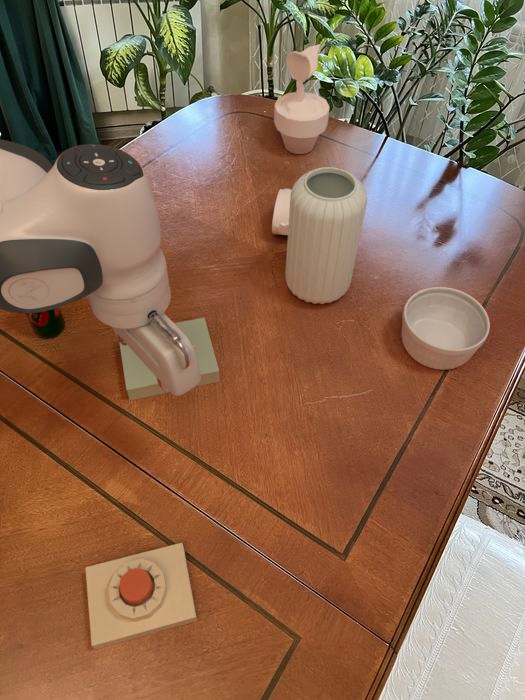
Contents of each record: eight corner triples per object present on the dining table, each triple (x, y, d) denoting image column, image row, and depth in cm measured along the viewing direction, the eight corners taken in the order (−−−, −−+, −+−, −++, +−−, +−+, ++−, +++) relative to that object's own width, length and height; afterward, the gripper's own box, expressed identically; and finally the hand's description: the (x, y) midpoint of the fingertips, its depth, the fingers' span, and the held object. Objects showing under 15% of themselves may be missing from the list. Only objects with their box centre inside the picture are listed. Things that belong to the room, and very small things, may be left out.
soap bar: (320, 251, 107) (324, 218, 101) (271, 244, 108) (272, 210, 102) (328, 211, 114) (333, 177, 108) (282, 204, 115) (284, 170, 109)
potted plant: (308, 169, 123) (319, 50, 103) (263, 151, 126) (265, 32, 106) (336, 141, 129) (352, 23, 109) (292, 124, 133) (300, 8, 113)
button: (123, 608, 66) (121, 604, 64) (120, 576, 68) (117, 572, 66) (155, 599, 66) (152, 595, 65) (150, 568, 68) (148, 564, 67)
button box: (95, 649, 66) (87, 643, 63) (89, 572, 72) (81, 562, 68) (197, 621, 68) (194, 613, 65) (184, 547, 74) (181, 537, 70)
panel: (129, 400, 87) (126, 389, 84) (121, 345, 93) (117, 333, 91) (219, 381, 89) (219, 370, 87) (205, 328, 96) (204, 316, 93)
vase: (339, 319, 97) (358, 215, 80) (275, 301, 100) (280, 196, 82) (356, 274, 104) (377, 169, 86) (296, 258, 106) (305, 152, 88)
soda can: (70, 331, 95) (50, 280, 85) (41, 344, 93) (17, 294, 83) (58, 312, 97) (37, 260, 88) (30, 324, 95) (5, 273, 86)
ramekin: (386, 361, 92) (395, 334, 86) (405, 304, 99) (414, 276, 94) (469, 387, 89) (483, 361, 84) (482, 327, 97) (495, 299, 91)
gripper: (210, 331, 59) (216, 402, 70) (104, 227, 68) (124, 305, 79) (159, 363, 56) (173, 431, 67) (56, 251, 65) (83, 327, 76)
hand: (146, 362), depth 73 cm, fingers open, 8 cm apart
